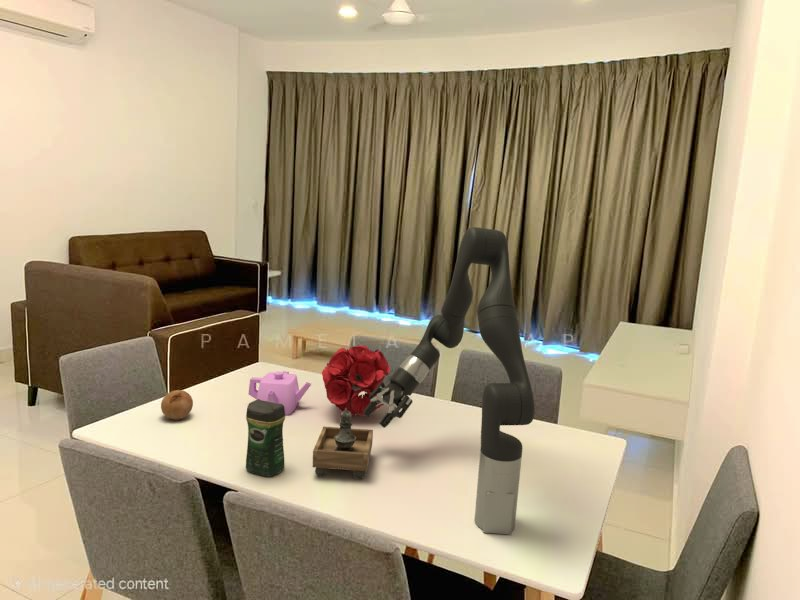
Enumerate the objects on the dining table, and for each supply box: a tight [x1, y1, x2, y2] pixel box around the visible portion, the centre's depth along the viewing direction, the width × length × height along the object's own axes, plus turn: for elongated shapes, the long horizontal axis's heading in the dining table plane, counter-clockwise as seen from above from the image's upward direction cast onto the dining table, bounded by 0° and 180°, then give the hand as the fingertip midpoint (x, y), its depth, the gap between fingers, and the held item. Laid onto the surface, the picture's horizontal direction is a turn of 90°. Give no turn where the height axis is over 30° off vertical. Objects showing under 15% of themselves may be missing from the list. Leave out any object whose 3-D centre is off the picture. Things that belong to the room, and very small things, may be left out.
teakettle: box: [248, 370, 312, 416], centre depth 196 cm, size 17×17×12 cm
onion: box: [160, 389, 194, 421], centre depth 183 cm, size 10×9×10 cm
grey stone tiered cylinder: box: [334, 408, 356, 452], centre depth 156 cm, size 6×6×12 cm
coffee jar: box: [245, 399, 286, 477], centre depth 152 cm, size 10×8×19 cm
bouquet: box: [321, 344, 391, 417], centre depth 198 cm, size 22×24×30 cm
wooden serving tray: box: [312, 426, 374, 480], centre depth 157 cm, size 16×14×8 cm
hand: (373, 420), depth 161 cm, fingers open, 8 cm apart
